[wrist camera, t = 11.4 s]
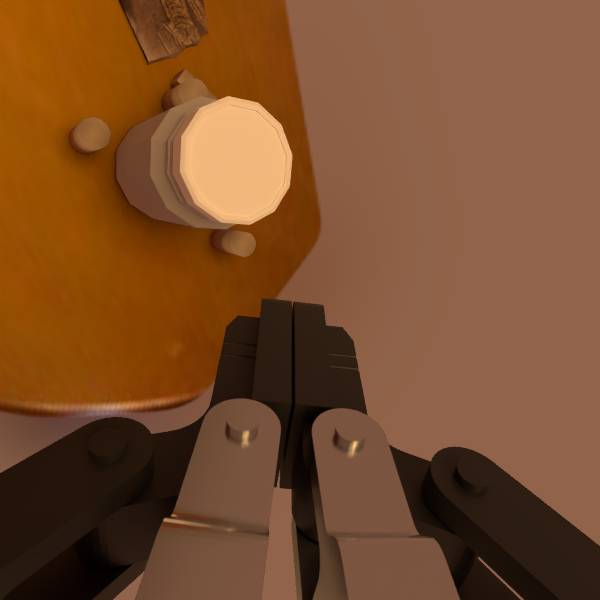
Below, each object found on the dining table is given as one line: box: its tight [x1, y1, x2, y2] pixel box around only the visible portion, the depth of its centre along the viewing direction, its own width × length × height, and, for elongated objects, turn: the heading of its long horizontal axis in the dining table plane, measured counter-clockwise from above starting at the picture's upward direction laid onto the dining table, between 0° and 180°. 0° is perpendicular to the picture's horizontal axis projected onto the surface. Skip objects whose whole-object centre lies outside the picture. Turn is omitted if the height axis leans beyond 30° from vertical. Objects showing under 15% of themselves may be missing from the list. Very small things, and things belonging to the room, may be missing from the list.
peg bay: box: [69, 69, 256, 257], centre depth 45 cm, size 12×18×6 cm, turn 53°
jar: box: [116, 96, 292, 229], centre depth 39 cm, size 10×10×18 cm
